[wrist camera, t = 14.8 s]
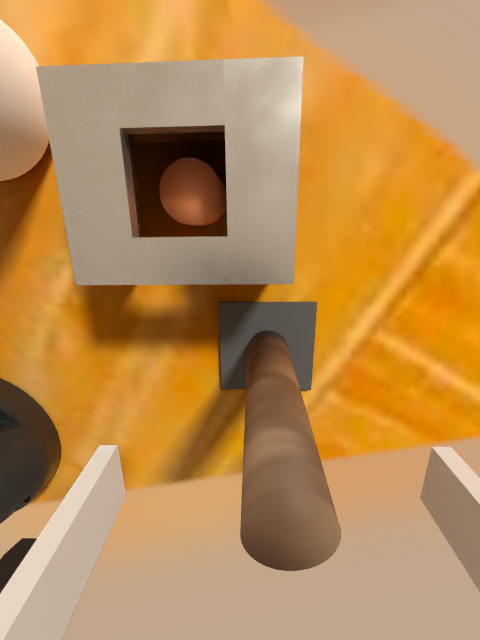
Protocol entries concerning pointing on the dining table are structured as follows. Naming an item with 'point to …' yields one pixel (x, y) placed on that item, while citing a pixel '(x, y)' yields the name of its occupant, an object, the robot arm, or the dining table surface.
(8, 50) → the cup
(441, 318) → the dining table surface
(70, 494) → the robot arm
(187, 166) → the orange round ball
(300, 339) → the coaster
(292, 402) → the rod
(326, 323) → the dining table surface
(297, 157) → the grey box with hole
